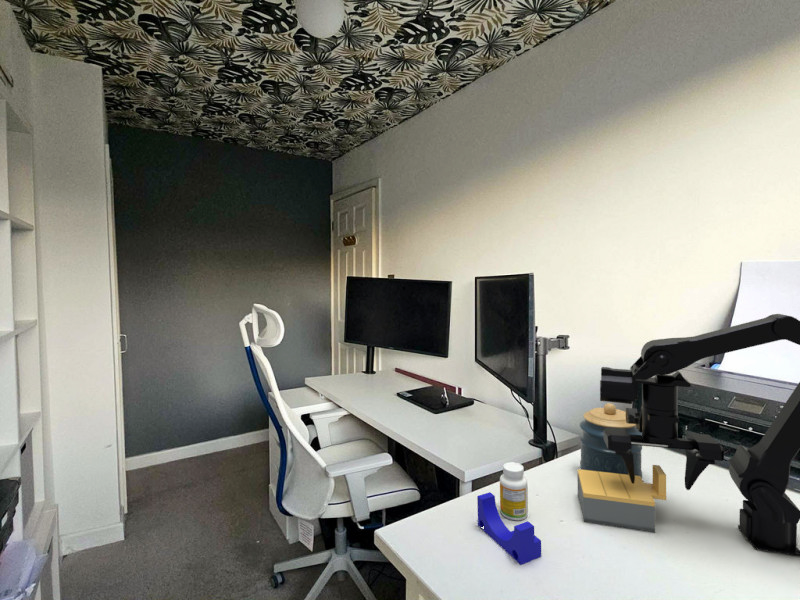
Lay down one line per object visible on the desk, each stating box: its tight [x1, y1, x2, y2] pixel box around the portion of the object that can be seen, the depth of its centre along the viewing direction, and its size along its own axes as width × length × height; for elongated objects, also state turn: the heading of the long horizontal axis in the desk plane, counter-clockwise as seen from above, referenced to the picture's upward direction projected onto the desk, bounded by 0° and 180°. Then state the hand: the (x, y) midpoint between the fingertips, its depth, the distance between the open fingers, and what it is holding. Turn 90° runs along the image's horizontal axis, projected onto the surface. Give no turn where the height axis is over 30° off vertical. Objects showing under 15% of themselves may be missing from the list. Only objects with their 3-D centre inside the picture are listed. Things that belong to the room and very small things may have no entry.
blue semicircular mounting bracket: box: [476, 491, 542, 566], centre depth 72 cm, size 12×4×6 cm, turn 25°
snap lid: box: [577, 464, 667, 508], centre depth 78 cm, size 15×10×6 cm
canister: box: [579, 402, 643, 479], centre depth 93 cm, size 13×13×18 cm
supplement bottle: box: [499, 461, 529, 521], centre depth 79 cm, size 5×5×10 cm
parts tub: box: [577, 476, 656, 534], centre depth 79 cm, size 12×10×5 cm
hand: (659, 485), depth 76 cm, fingers open, 9 cm apart
